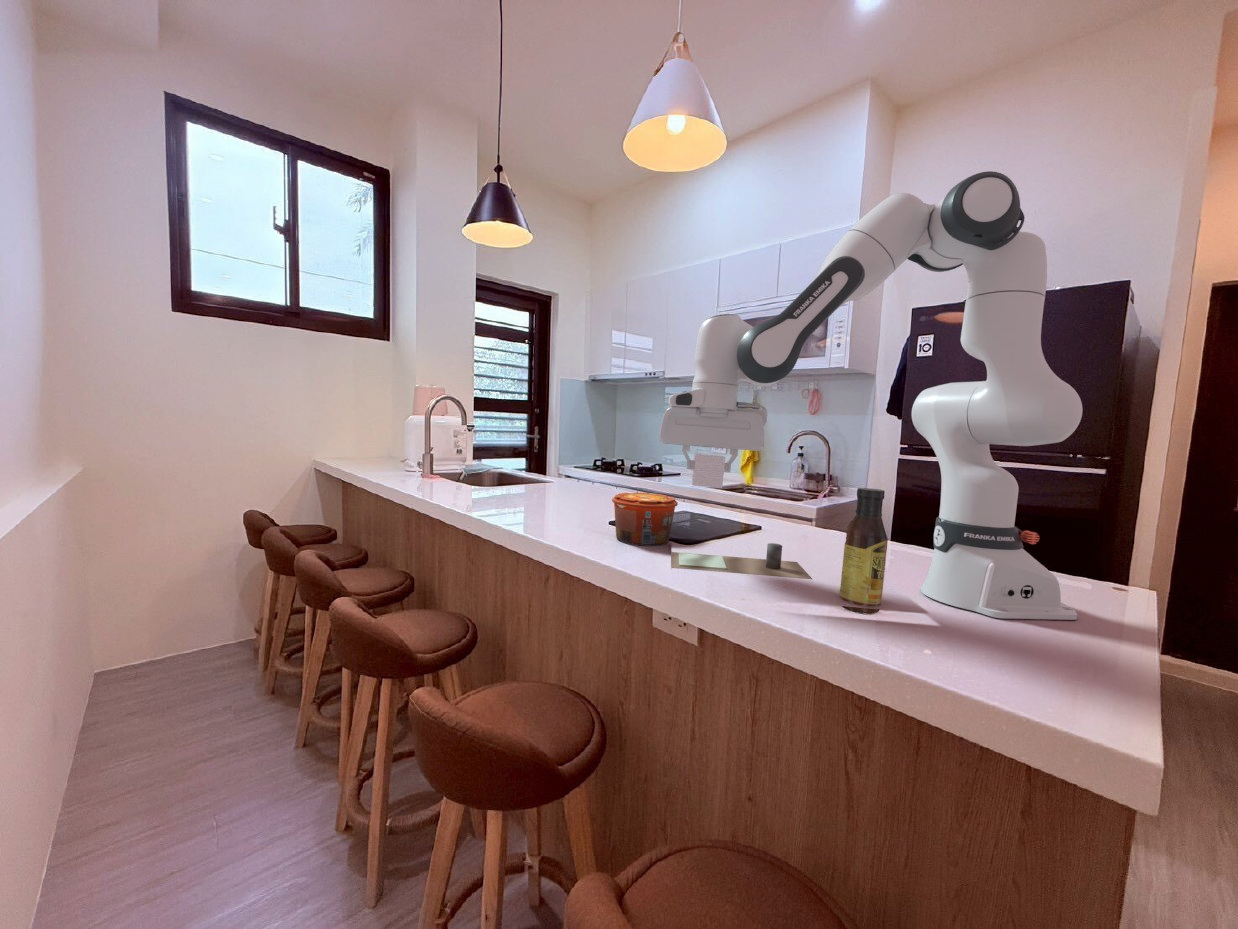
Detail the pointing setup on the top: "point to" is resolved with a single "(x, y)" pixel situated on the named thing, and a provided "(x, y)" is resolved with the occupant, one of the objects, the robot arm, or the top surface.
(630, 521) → the food container
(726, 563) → the post board
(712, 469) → the white cube
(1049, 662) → the top surface
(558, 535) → the top surface
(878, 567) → the sauce bottle
